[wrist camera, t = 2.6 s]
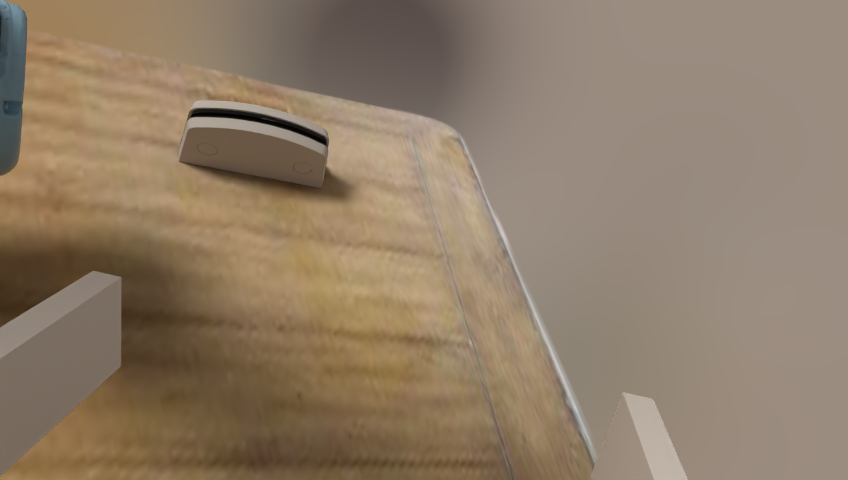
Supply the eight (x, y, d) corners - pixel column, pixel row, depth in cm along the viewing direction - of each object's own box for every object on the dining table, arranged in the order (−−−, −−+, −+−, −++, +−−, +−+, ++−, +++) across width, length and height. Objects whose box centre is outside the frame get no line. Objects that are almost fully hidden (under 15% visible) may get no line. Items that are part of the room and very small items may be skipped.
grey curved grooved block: (322, 164, 74) (341, 115, 66) (320, 195, 72) (339, 148, 64) (183, 136, 69) (185, 79, 61) (176, 169, 67) (177, 114, 58)
